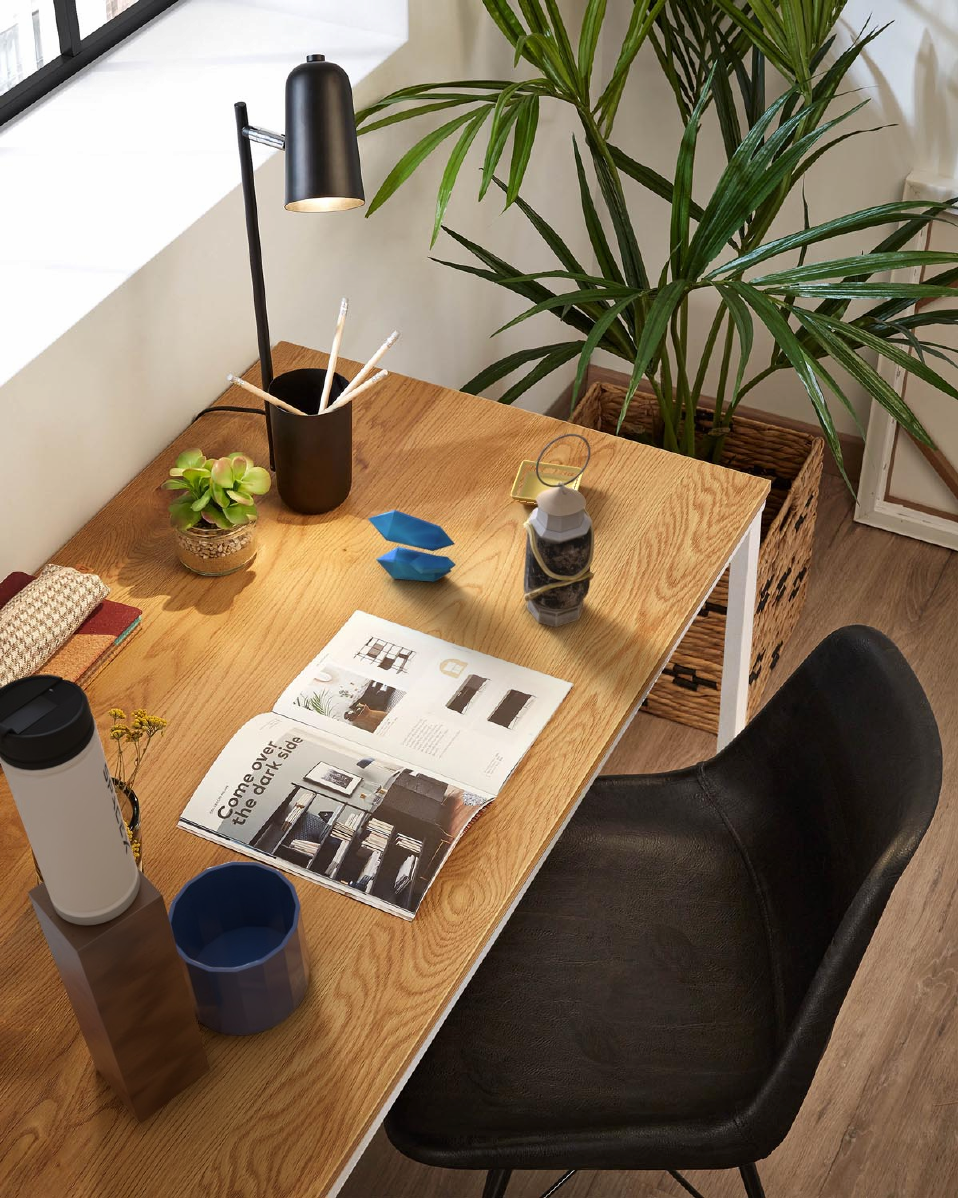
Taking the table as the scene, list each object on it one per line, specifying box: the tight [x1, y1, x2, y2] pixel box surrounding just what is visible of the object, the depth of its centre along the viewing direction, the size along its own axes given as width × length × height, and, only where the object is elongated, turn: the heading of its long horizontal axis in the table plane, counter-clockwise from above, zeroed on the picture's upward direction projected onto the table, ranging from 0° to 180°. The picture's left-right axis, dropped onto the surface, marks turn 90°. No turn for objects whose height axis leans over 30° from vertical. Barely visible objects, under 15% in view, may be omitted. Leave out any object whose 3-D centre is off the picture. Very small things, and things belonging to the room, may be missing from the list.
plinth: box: [27, 866, 211, 1125], centre depth 101 cm, size 7×7×25 cm
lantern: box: [522, 433, 595, 628], centre depth 146 cm, size 9×8×25 cm
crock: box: [167, 860, 311, 1037], centre depth 112 cm, size 11×11×10 cm
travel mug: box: [0, 674, 140, 925], centre depth 86 cm, size 6×7×20 cm
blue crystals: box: [367, 509, 457, 583], centre depth 156 cm, size 7×9×12 cm
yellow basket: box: [509, 459, 585, 507], centre depth 171 cm, size 9×9×2 cm
